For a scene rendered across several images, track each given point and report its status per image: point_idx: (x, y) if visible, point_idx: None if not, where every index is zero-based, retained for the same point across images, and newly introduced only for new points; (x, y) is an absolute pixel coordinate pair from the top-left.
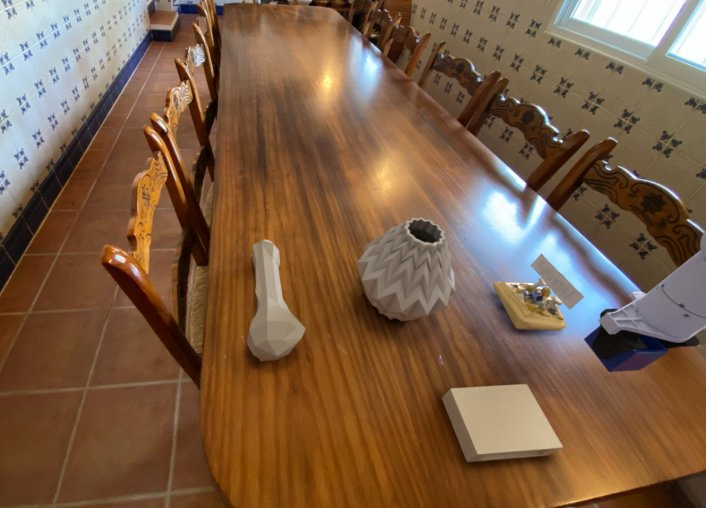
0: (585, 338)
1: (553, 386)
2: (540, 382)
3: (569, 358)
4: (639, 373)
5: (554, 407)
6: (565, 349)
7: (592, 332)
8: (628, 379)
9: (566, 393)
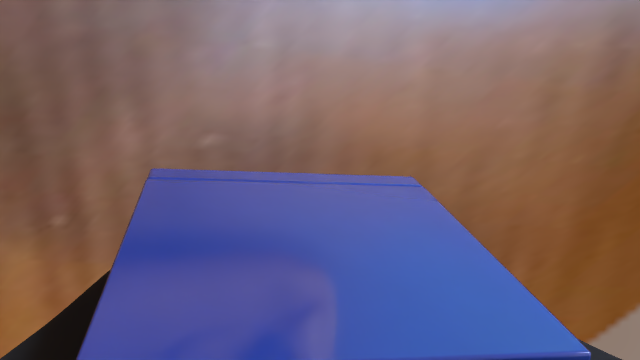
0: (150, 178)
1: (71, 207)
2: (9, 184)
3: (268, 86)
4: (549, 186)
5: (13, 289)
6: (285, 36)
7: (134, 216)
8: (474, 205)
9: (119, 239)
